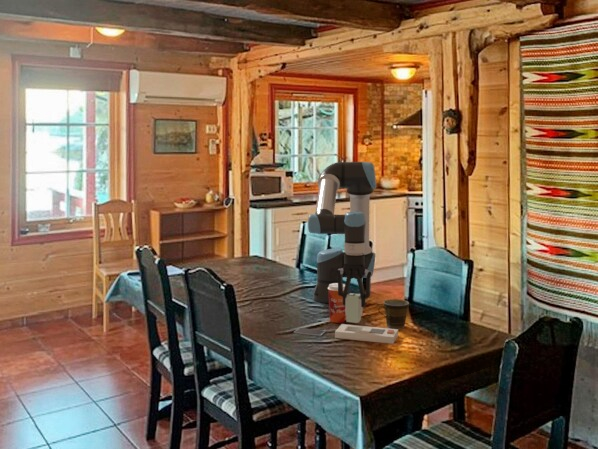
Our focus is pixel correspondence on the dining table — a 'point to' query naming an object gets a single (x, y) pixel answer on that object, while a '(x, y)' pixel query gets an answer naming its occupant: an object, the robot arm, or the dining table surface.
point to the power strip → (366, 333)
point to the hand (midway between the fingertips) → (353, 314)
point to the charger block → (353, 308)
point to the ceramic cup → (395, 313)
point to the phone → (310, 332)
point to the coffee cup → (336, 304)
